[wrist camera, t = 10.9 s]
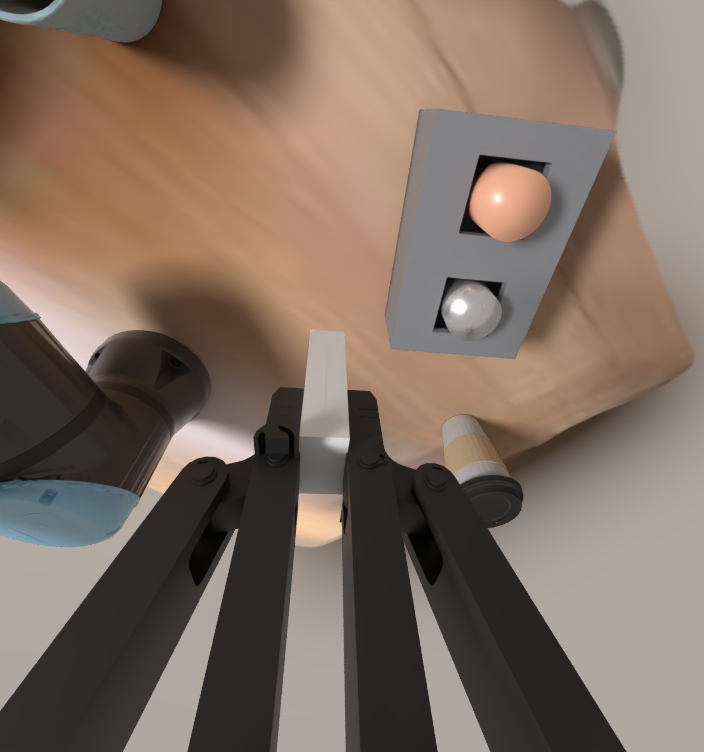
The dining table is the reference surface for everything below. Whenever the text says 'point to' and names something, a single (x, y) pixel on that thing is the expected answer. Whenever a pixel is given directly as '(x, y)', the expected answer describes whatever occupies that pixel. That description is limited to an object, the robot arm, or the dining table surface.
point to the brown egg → (507, 200)
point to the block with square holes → (469, 241)
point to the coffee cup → (480, 471)
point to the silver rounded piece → (469, 308)
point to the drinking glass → (87, 16)
